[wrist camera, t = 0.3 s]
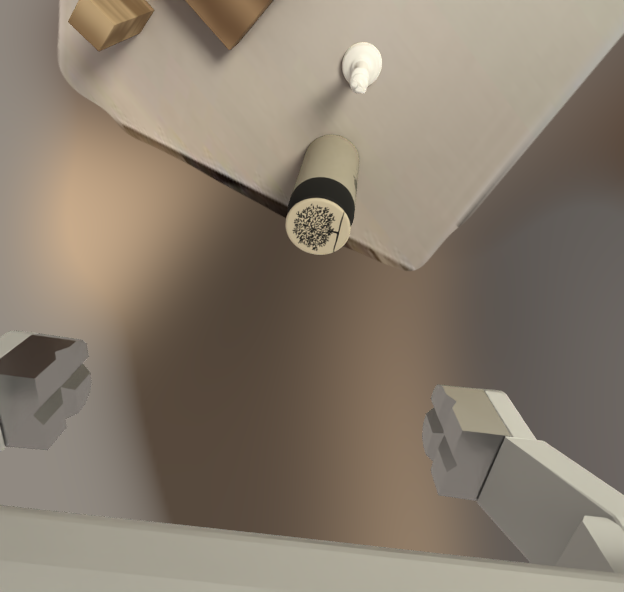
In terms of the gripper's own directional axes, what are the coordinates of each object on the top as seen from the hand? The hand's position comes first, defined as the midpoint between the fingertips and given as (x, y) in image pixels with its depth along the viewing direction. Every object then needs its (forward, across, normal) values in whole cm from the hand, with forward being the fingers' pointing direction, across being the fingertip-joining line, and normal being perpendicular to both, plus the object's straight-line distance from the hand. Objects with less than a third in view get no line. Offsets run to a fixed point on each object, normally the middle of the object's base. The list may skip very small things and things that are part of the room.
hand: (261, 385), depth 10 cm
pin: (+51, +24, -14) cm, 58 cm away
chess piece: (+50, -5, -12) cm, 52 cm away
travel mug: (+54, -3, 0) cm, 55 cm away
